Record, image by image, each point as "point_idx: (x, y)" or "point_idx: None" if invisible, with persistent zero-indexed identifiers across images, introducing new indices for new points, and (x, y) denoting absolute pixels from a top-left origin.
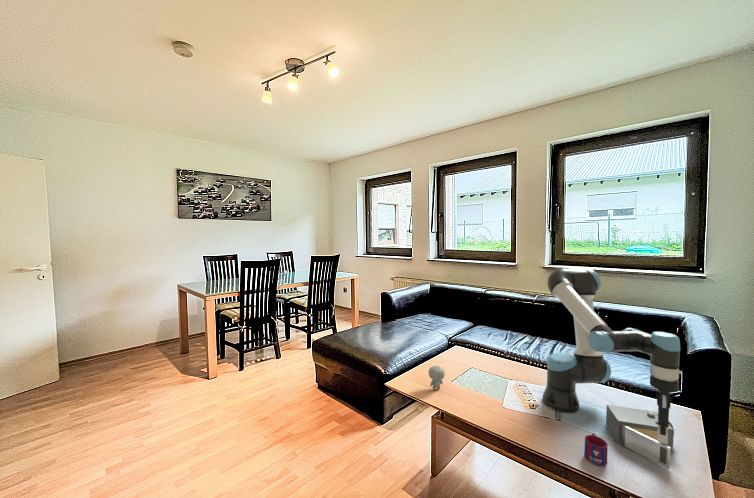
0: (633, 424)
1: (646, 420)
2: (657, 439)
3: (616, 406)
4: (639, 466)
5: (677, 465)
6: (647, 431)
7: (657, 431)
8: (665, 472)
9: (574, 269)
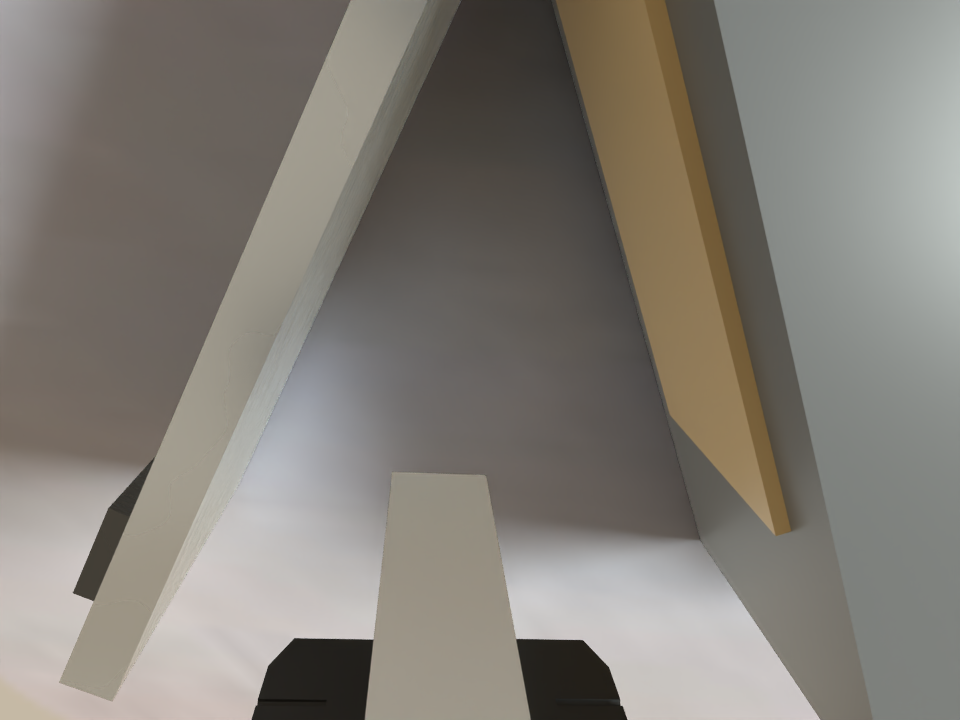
0: (700, 6)
1: None
2: (391, 491)
3: None
4: (24, 137)
5: None
6: (710, 325)
7: (457, 580)
8: (143, 431)
9: None
